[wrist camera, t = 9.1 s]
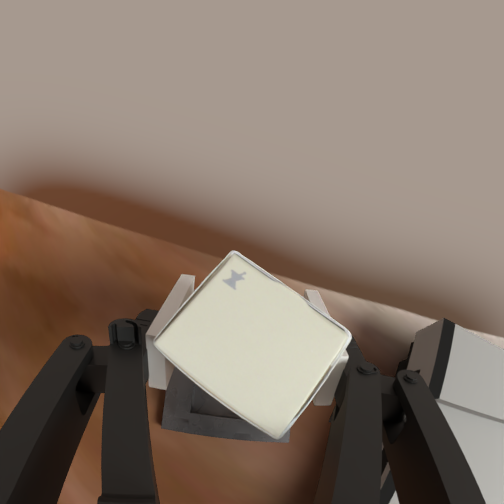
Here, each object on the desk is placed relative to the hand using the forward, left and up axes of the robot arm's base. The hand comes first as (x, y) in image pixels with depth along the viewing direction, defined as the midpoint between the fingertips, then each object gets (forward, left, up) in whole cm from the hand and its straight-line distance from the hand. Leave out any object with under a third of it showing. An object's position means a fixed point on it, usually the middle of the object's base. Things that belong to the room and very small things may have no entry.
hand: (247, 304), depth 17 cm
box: (0, -4, -4) cm, 5 cm away
